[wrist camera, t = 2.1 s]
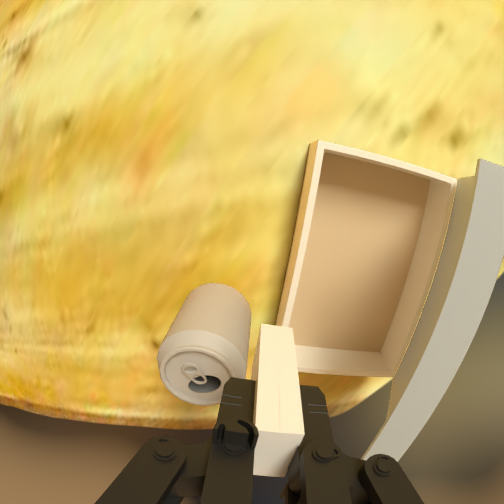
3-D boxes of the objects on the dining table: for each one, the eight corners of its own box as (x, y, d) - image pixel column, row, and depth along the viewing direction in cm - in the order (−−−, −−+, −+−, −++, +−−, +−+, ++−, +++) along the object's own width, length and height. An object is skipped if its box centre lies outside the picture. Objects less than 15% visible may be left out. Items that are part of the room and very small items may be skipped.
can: (204, 347, 35) (182, 419, 23) (173, 294, 33) (133, 356, 22) (262, 326, 34) (260, 400, 22) (233, 269, 32) (217, 328, 20)
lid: (350, 476, 17) (378, 484, 16) (480, 158, 11) (520, 173, 10) (378, 375, 30) (397, 381, 29) (440, 173, 24) (463, 180, 23)
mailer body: (271, 342, 34) (271, 368, 30) (309, 143, 28) (318, 140, 23) (380, 352, 34) (393, 377, 30) (432, 175, 28) (457, 179, 23)
